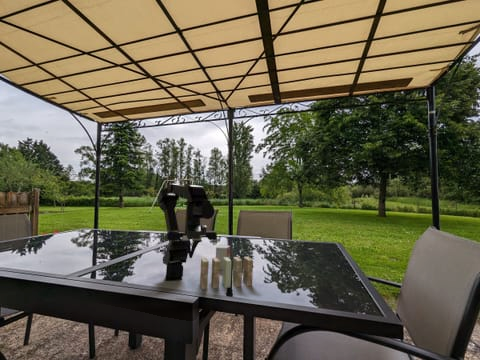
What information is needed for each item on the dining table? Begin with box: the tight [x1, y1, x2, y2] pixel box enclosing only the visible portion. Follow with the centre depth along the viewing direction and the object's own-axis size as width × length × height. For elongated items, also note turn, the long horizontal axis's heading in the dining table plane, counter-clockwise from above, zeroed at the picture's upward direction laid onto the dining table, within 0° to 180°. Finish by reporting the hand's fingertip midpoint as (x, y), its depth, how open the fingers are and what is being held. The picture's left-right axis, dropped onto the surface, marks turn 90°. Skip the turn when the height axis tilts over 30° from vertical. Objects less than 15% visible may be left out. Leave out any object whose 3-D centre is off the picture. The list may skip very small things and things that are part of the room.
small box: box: [215, 244, 231, 271], centre depth 116 cm, size 8×6×10 cm
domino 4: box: [232, 256, 243, 288], centre depth 93 cm, size 2×6×10 cm, turn 17°
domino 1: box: [199, 257, 209, 290], centre depth 89 cm, size 2×6×10 cm, turn 17°
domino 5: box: [242, 256, 254, 287], centre depth 94 cm, size 2×6×10 cm, turn 17°
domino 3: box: [221, 257, 232, 289], centre depth 92 cm, size 2×6×10 cm, turn 17°
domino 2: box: [210, 257, 221, 290], centre depth 90 cm, size 2×6×10 cm, turn 17°
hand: (190, 257), depth 88 cm, fingers closed
